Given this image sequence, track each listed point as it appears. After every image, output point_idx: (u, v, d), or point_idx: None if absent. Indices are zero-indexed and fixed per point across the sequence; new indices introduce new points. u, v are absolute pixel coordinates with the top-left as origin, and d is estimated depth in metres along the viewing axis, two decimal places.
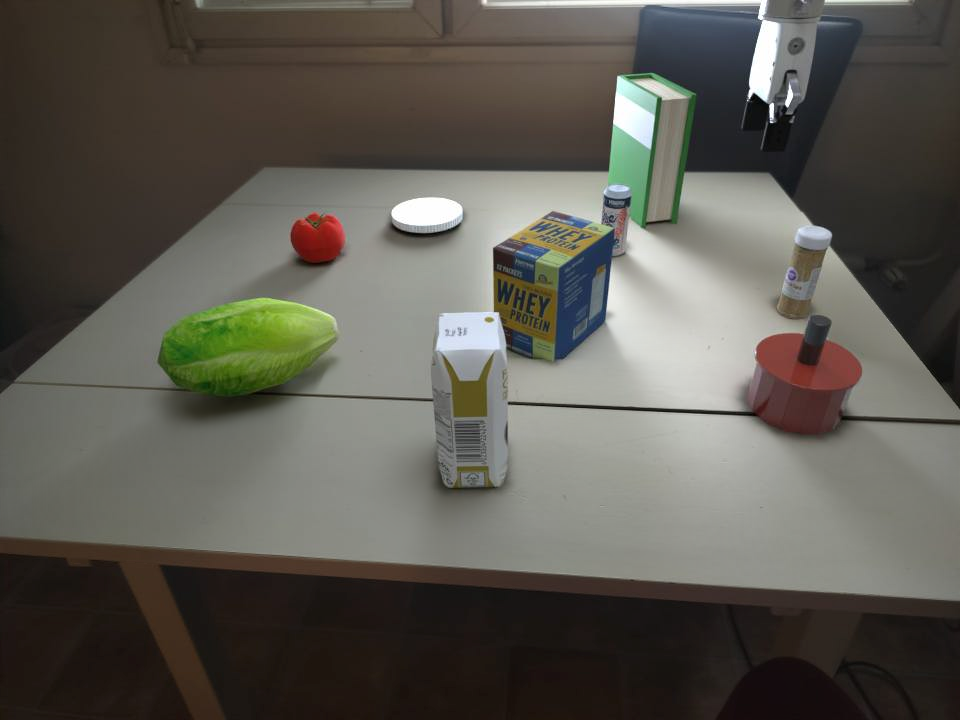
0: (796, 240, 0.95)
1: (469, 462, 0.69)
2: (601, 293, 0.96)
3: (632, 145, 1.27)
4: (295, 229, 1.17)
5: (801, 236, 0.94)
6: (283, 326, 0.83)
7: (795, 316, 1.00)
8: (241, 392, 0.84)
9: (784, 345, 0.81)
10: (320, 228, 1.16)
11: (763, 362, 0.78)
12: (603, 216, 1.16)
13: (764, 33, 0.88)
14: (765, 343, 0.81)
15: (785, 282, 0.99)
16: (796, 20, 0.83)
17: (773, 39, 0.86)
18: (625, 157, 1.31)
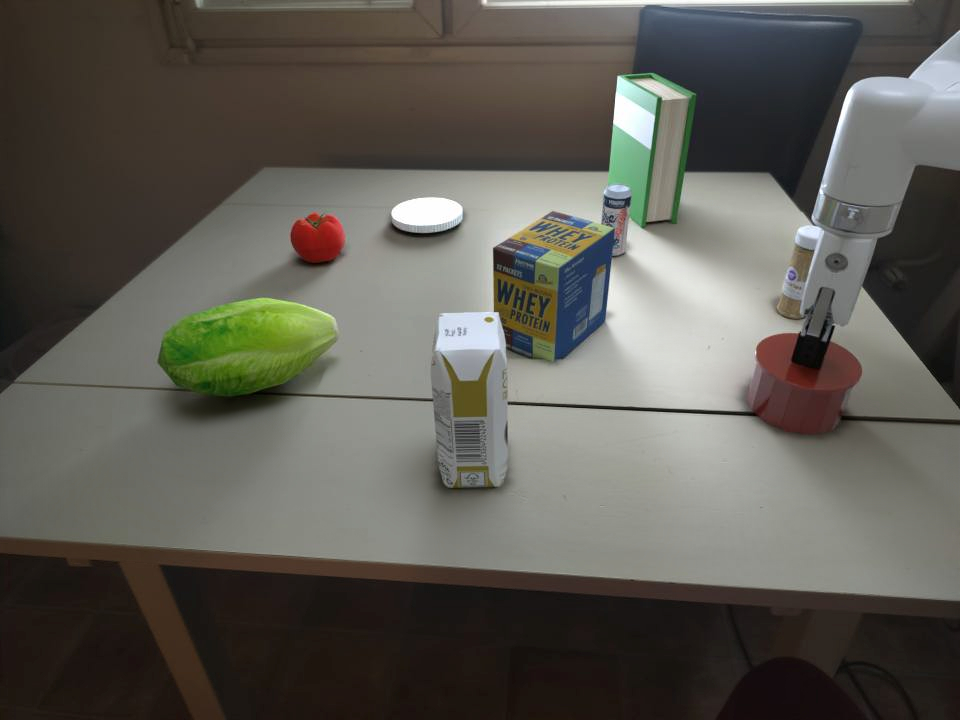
0: (796, 240, 0.95)
1: (469, 462, 0.69)
2: (601, 293, 0.96)
3: (632, 145, 1.27)
4: (295, 229, 1.17)
5: (801, 236, 0.94)
6: (283, 326, 0.83)
7: (795, 316, 1.00)
8: (241, 392, 0.84)
9: (784, 345, 0.81)
10: (320, 228, 1.16)
11: (763, 362, 0.78)
12: (603, 216, 1.16)
13: None
14: (765, 343, 0.81)
15: (785, 282, 0.99)
16: (842, 232, 0.66)
17: (816, 245, 0.69)
18: (625, 157, 1.31)
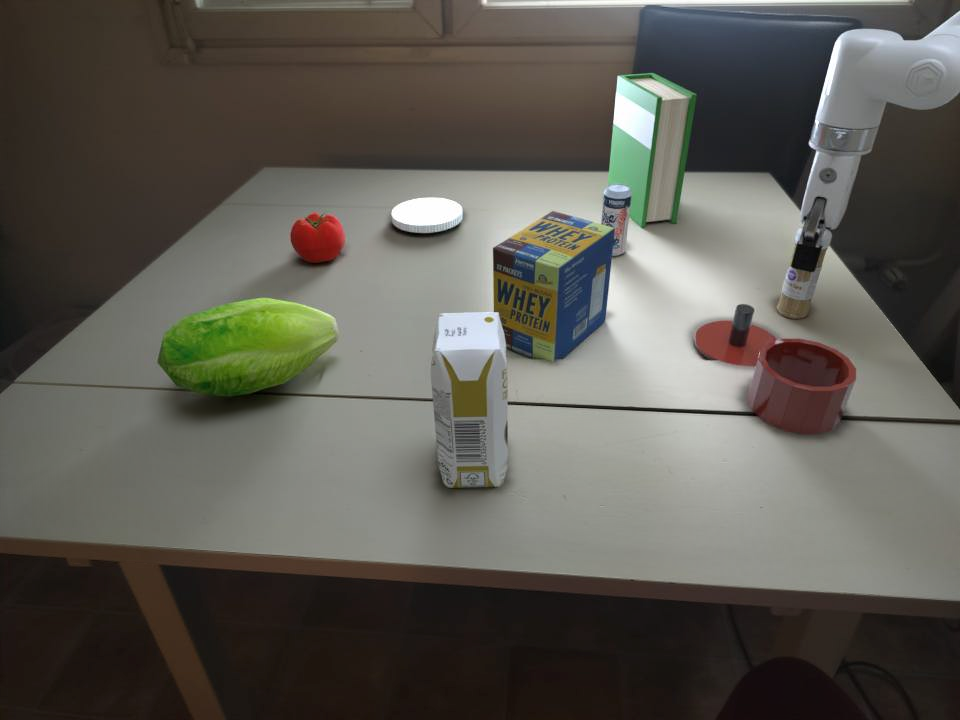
0: (796, 240, 0.95)
1: (469, 462, 0.69)
2: (601, 293, 0.96)
3: (632, 145, 1.27)
4: (295, 229, 1.17)
5: None
6: (283, 326, 0.83)
7: (795, 316, 1.00)
8: (241, 392, 0.84)
9: (719, 330, 0.96)
10: (320, 228, 1.16)
11: (700, 344, 0.94)
12: (603, 216, 1.16)
13: None
14: (703, 329, 0.97)
15: (785, 282, 0.99)
16: (832, 151, 0.85)
17: None
18: (625, 157, 1.31)
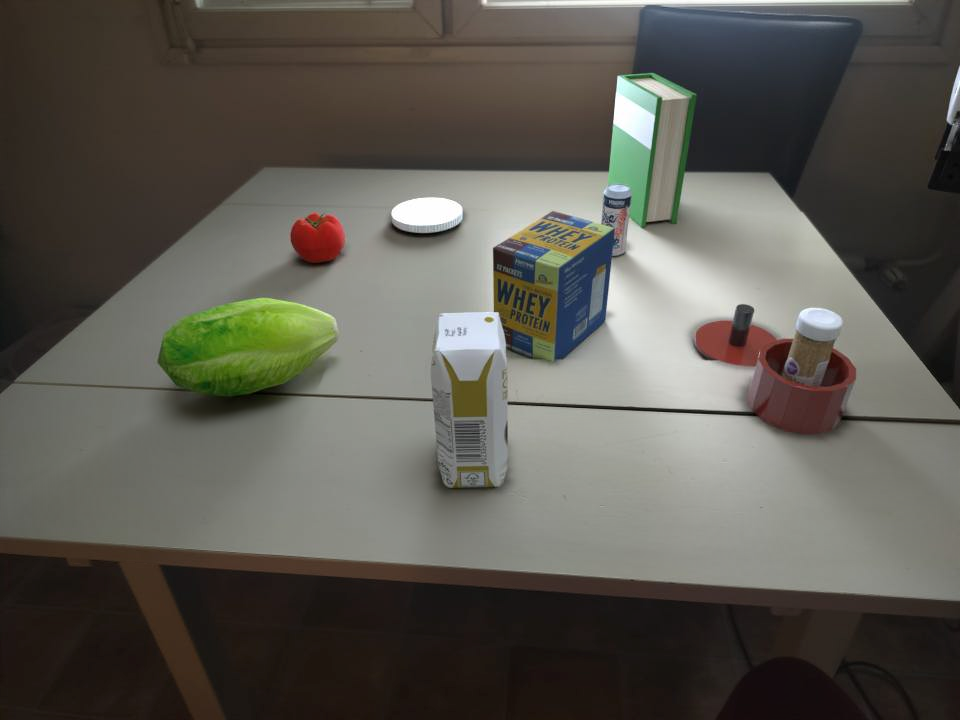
0: (797, 327, 0.76)
1: (469, 462, 0.69)
2: (601, 293, 0.96)
3: (632, 145, 1.27)
4: (295, 229, 1.17)
5: (804, 323, 0.75)
6: (283, 326, 0.83)
7: None
8: (241, 392, 0.84)
9: (719, 330, 0.96)
10: (320, 228, 1.16)
11: (700, 344, 0.94)
12: (603, 216, 1.16)
13: None
14: (703, 329, 0.97)
15: (784, 375, 0.80)
16: None
17: None
18: (625, 157, 1.31)
